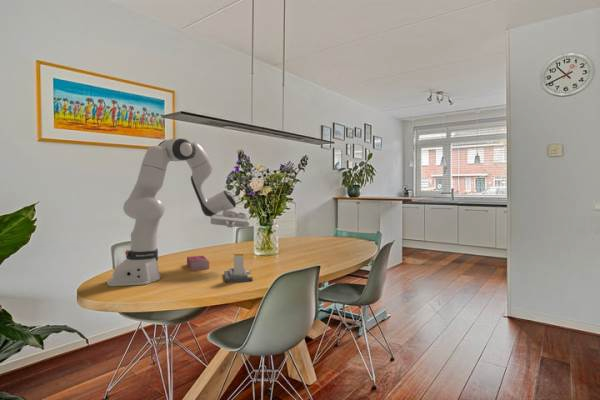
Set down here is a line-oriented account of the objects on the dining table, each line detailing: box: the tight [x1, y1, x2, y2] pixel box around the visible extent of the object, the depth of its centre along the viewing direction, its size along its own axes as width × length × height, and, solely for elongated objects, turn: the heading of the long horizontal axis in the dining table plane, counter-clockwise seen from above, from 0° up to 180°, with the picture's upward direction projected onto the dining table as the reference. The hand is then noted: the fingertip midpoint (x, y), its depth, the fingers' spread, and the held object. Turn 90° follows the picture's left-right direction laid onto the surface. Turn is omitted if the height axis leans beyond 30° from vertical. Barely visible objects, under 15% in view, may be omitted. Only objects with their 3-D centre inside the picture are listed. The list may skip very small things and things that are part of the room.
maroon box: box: [186, 255, 210, 272], centre depth 194 cm, size 9×5×20 cm
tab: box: [233, 251, 244, 276], centre depth 167 cm, size 4×4×11 cm
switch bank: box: [223, 267, 253, 283], centre depth 171 cm, size 12×16×3 cm
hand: (230, 226), depth 181 cm, fingers closed
